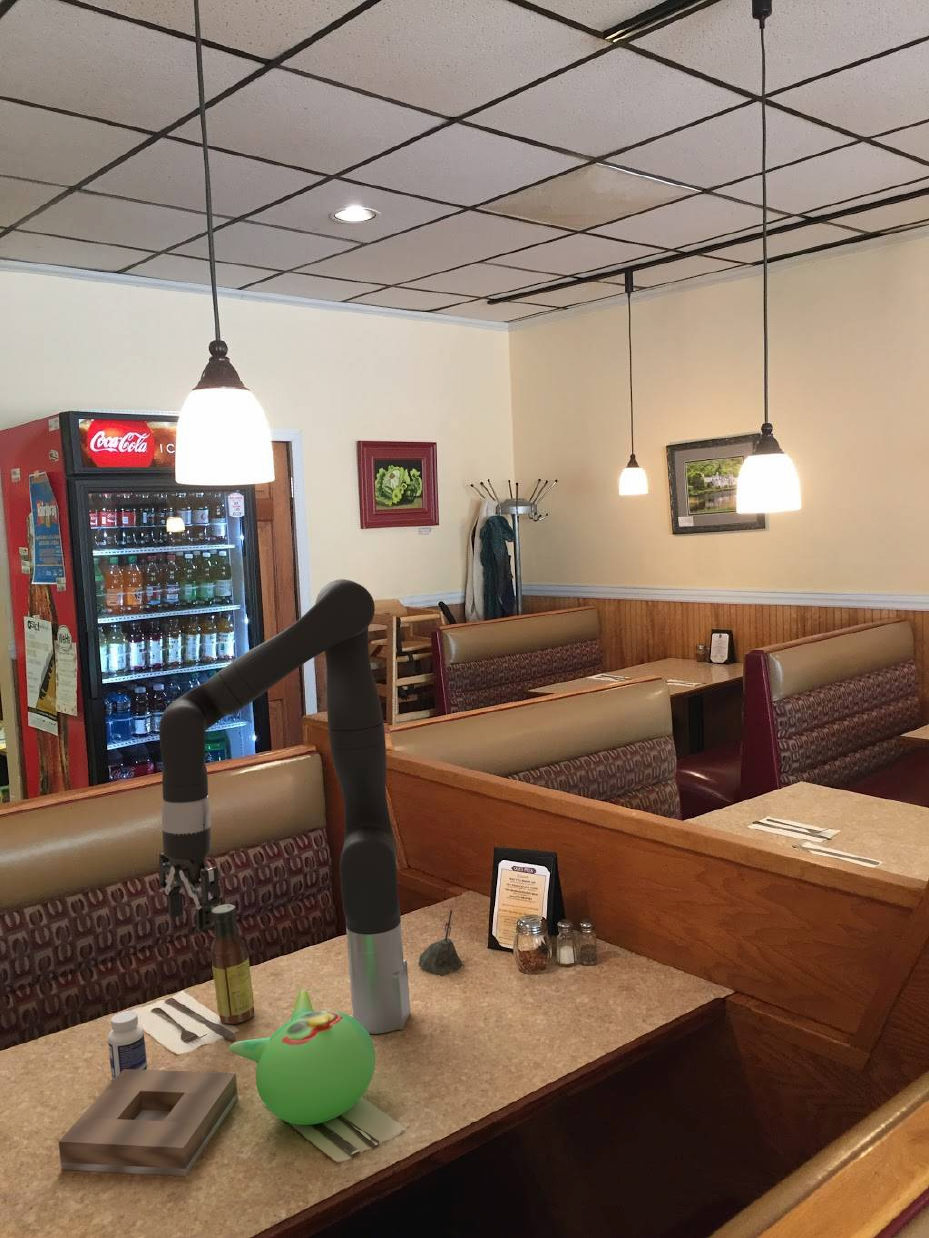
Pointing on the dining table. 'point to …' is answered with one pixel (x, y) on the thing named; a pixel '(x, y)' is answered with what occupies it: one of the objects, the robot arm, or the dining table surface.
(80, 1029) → the dining table surface
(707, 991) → the dining table surface
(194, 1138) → the socket block
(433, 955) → the sword in stone
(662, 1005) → the dining table surface
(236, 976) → the sauce bottle
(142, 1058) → the pill bottle
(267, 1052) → the toy bird
